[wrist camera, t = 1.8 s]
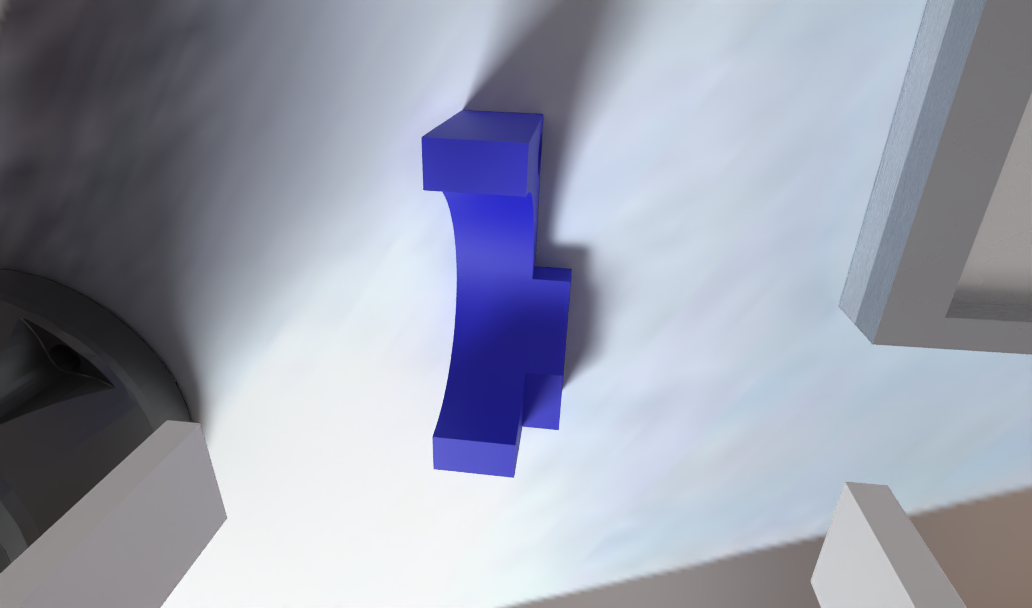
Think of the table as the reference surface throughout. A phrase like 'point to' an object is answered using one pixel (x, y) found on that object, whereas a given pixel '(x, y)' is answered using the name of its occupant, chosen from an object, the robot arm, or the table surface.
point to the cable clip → (496, 291)
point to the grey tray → (954, 190)
